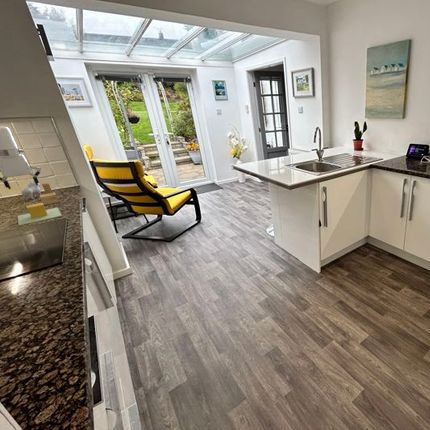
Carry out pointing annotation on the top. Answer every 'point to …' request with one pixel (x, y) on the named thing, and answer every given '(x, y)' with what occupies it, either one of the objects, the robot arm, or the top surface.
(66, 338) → the top surface
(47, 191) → the supplement box
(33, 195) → the dog figurine
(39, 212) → the top cube
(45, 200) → the base block
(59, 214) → the mat
